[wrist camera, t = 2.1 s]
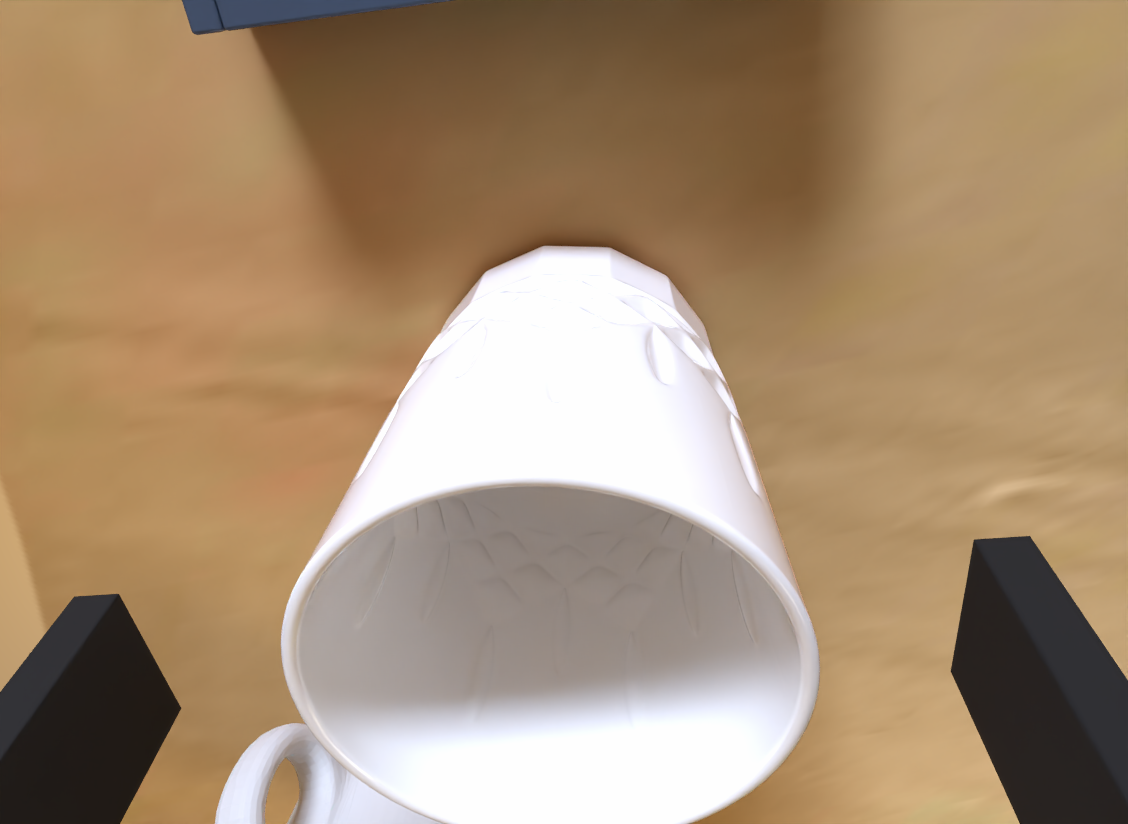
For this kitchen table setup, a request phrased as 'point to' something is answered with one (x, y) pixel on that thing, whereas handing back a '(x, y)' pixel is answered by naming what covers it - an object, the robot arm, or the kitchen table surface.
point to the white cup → (557, 570)
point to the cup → (304, 785)
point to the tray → (277, 11)
